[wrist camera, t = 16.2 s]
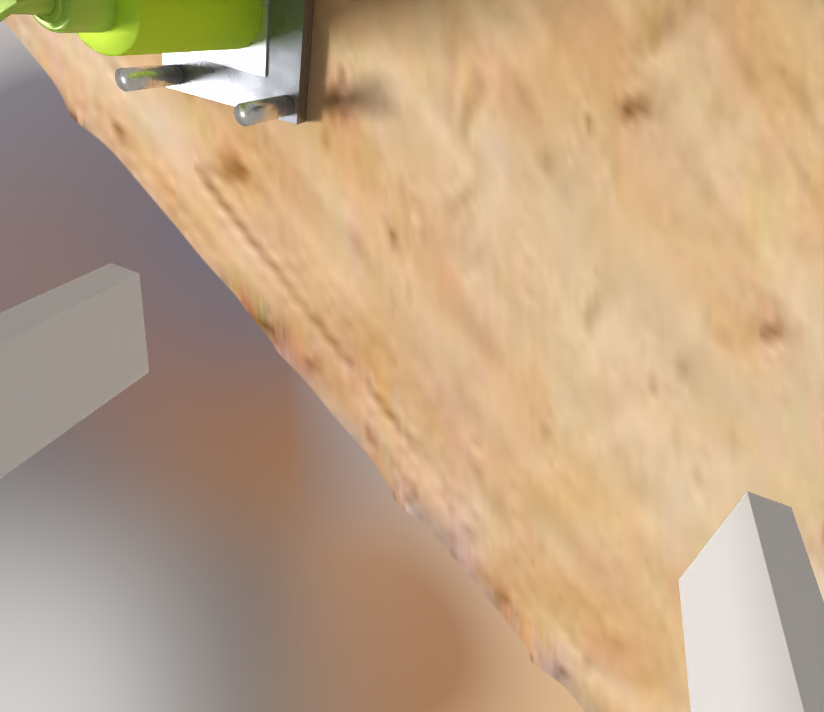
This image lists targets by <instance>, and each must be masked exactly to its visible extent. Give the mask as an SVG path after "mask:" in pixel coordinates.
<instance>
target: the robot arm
mask: <svg viewBox="0 0 824 712" xmlns="http://www.w3.org/2000/svg"><path fill="white" fill-rule="evenodd" d="M148 372H149V368H148V357H147V347H146V336H145V326H144V316H143V306H142V297H141V286H140V275H139V273H137V272H134V271H131V270H128V269H125V268H123V267H120V266H117V265H114V264H112V263H110V264H108V265H106V266H103V267H101V268H99V269H96V270H94V271H92V272H90V273H88V274H86V275H83V276H81V277H79V278H77V279H74V280H72V281H70V282H68V283H66V284H63V285H61V286H59V287H57V288H54V289H52V290H50V291H48V292H46V293H44V294H41V295H39V296H37V297H35V298H32V299H30V300H28V301H26V302H24V303H21V304H19V305H17V306H15V307H12V308H10V309H8V310H6V311H4V312H1V313H0V478H1V477H3V476H4V475H6V474H7V473H8V472H10V471H11V470H13V469H14V468H15V467H17V466H18V465H20V464H21V463H22V462H24V461H25V460H27V459H28V458H29V457H31V456H32V455H34V454H35V453H36V452H38V451H39V450H41V449H42V448H43V447H45V446H46V445H47V444H49V443H50V442H52V441H53V440H54V439H56V438H57V437H59V436H60V435H61V434H63V433H64V432H66V431H67V430H68V429H70V428H71V427H73V426H74V425H75V424H77V423H78V422H80V421H81V420H82V419H84V418H85V417H87V416H88V415H89V414H91V413H92V412H94V411H95V410H96V409H98V408H99V407H101V406H102V405H103V404H105V403H106V402H108V401H109V400H110V399H112V398H113V397H115V396H116V395H117V394H119V393H120V392H122V391H123V390H124V389H126V388H127V387H128V386H130V385H131V384H133V383H134V382H136V381H137V380H138V379H140V378H141V377H143V376H144V375H145V374H147V373H148ZM679 589H680V599H681V610H682V621H683V632H684V643H685V654H686V665H687V675H688V686H689V697H690V708H691V712H824V602H823V599H822V596H821V593H820V590H819V587H818V584H817V581H816V578H815V576H814V573H813V570H812V567H811V564H810V561H809V558H808V555H807V552H806V549H805V546H804V543H803V540H802V537H801V535H800V532H799V529H798V526H797V523H796V520H795V517H794V514H793V511H792V508H791V507H789V506H786V505H784V504H781V503H778V502H775V501H772V500H770V499H767V498H764V497H761V496H759V495H756V494H753V493H750V492H747V493H746V494H745V495H744V496H743V498H742V499H741V500H740V502H739V503H738V504H737V505H736V507H735V508H734V509H733V511H732V512H731V513H730V514H729V516H728V517H727V518H726V520H725V521H724V522H723V524H722V525H721V526H720V527H719V529H718V530H717V531H716V533H715V534H714V535H713V536H712V538H711V539H710V540H709V542H708V543H707V544H706V545H705V547H704V548H703V549H702V551H701V552H700V553H699V555H698V556H697V557H696V558H695V560H694V561H693V562H692V564H691V565H690V566H689V567H688V569H687V570H686V571H685V573H684V574H683V575H682V576H681V578H680V579H679Z"/></svg>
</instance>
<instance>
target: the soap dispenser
mask: <svg viewBox="0 0 824 712" xmlns="http://www.w3.org/2000/svg"><path fill="white" fill-rule="evenodd" d="M11 14H29V15H33V16H34V18H35V19H36V20H37V21H38V22H39V23H40V24H41V25H42V26H43V27H44V28H46V29H48V30H50V31H52V32H56V33H77V35H78V36H79V37H80V38H81V39H82V40H83V41H84V42H85V43H86V44H87V45H88V46H89V47H91V48H92V49H93V50H95V51H97V52H99V53H101V54H104V55H108V56H123V55H142V54H161V53H180V52H198V51H217V50H236V49H242V48H244V47H246V46H248V45H249V44H250V43H251V42H252V41H253V40H254V39H255V38H256V36H257V34H258V32H259V29H260V26H261V20H262V6H261V0H0V22H1V21H2V20H4V19H5V18H7V17H8V16H9V15H11Z"/></svg>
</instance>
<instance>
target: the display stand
mask: <svg viewBox="0 0 824 712" xmlns="http://www.w3.org/2000/svg"><path fill="white" fill-rule="evenodd" d="M261 6H262V20H261V26H260V29H259V32H258V34H257V36H256V38H255V39H254V40H253V41H252V42H251V43H250V44H249V45H248V46H246V47H244V48H242V49H236V50H217V51H198V52H180V53H163V65H157V66H144V67H131V68H119V69H117V71H116V72H115V80H116V83H117V85H118V86H119V87H120V89H122V90H123V91H134V90H142V89H150V88H158V87H168V88H172V89H175V90H179V91H182V92H186V93H189V94H193V95H196V96H200V97H203V98H207V99H210V100H214V101H217V102H221V103H224V104H228V105H231V106H235V110H234V114H235V118H236V120H237V121H238V123H239V124H241V125H242V126H250V125H254V124H258V123H262V122H265V121H269V120H273V119H280V120H283V121H287V122H290V123H294V124H300V123H303V122H305V117H306V104H307V91H308V77H309V64H310V50H311V37H312V24H313V10H314V0H261Z"/></svg>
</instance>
